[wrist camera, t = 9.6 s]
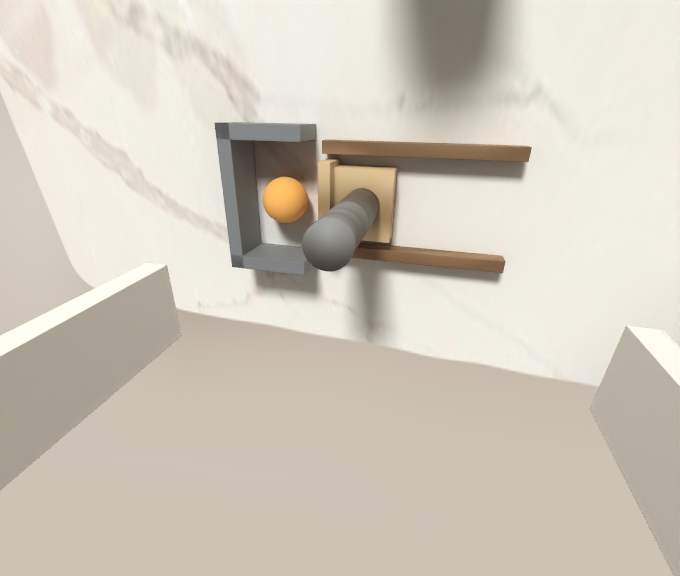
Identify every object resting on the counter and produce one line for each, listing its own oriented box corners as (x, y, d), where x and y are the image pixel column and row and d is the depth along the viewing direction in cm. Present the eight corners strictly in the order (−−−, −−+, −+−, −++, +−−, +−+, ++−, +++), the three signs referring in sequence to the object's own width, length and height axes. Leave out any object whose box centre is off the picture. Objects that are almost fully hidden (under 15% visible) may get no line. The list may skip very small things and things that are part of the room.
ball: (258, 180, 29) (307, 180, 30) (263, 173, 33) (307, 173, 33) (262, 228, 31) (308, 227, 31) (266, 216, 34) (308, 216, 35)
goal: (239, 122, 32) (214, 122, 29) (315, 124, 31) (299, 124, 27) (251, 253, 37) (232, 266, 34) (317, 259, 36) (304, 275, 32)
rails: (327, 139, 31) (322, 140, 30) (527, 145, 28) (531, 147, 26) (326, 249, 35) (322, 254, 34) (500, 266, 32) (502, 272, 30)
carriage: (328, 158, 31) (265, 181, 20) (397, 161, 30) (373, 187, 19) (328, 235, 34) (273, 294, 23) (391, 241, 33) (366, 306, 22)
